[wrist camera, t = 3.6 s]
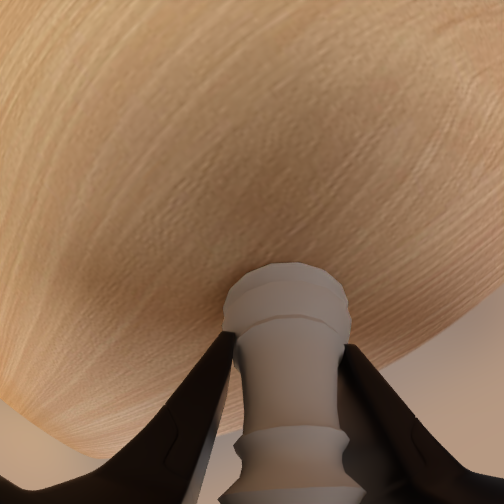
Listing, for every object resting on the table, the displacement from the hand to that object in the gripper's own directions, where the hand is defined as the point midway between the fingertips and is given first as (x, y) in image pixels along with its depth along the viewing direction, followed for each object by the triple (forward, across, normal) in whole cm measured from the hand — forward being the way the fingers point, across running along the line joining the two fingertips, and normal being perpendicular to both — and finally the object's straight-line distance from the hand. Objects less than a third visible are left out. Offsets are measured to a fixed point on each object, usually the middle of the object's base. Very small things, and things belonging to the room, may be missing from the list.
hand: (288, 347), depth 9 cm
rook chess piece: (+2, 0, 0) cm, 2 cm away
